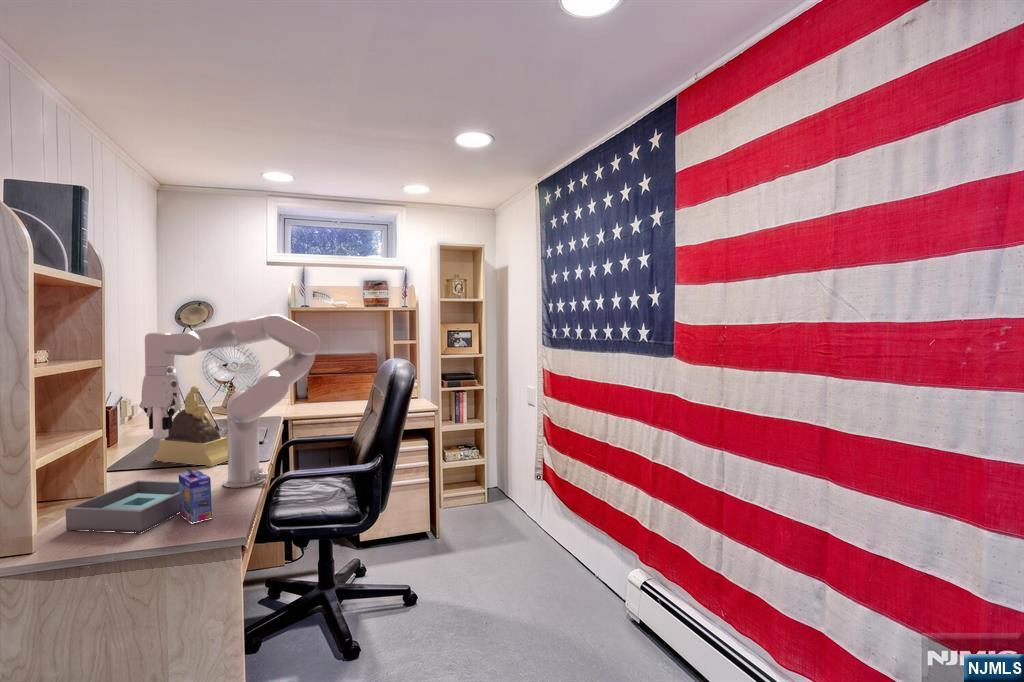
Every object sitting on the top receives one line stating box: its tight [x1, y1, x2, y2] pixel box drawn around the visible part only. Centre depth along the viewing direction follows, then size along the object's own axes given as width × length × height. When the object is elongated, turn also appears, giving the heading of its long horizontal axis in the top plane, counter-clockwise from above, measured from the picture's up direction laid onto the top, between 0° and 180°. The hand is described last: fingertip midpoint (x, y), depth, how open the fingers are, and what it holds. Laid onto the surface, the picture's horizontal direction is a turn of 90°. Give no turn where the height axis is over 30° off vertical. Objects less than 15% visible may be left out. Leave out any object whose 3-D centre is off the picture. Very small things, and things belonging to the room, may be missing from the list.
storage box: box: [65, 479, 180, 533], centre depth 141 cm, size 21×23×6 cm
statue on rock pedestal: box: [152, 385, 228, 467], centre depth 196 cm, size 28×13×30 cm, turn 76°
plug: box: [152, 407, 169, 439], centre depth 157 cm, size 4×4×10 cm
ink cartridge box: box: [178, 467, 214, 523], centre depth 140 cm, size 10×6×14 cm, turn 51°
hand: (160, 428), depth 157 cm, fingers closed on plug, 4 cm apart
